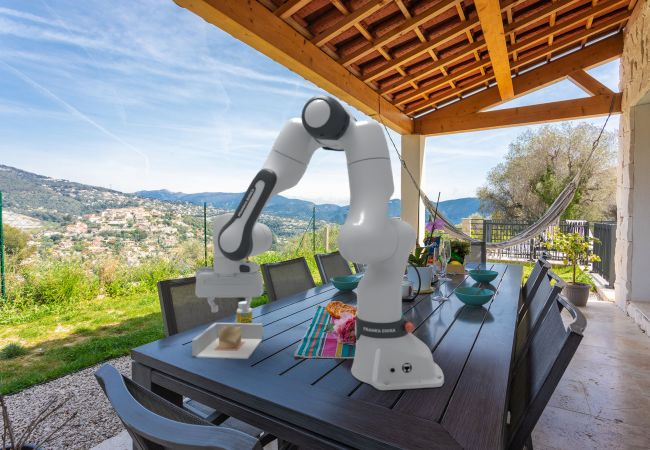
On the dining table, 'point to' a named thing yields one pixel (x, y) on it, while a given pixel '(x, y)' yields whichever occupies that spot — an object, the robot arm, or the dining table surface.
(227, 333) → the oak cube
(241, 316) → the supplement bottle
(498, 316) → the dining table surface
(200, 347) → the corner arena
